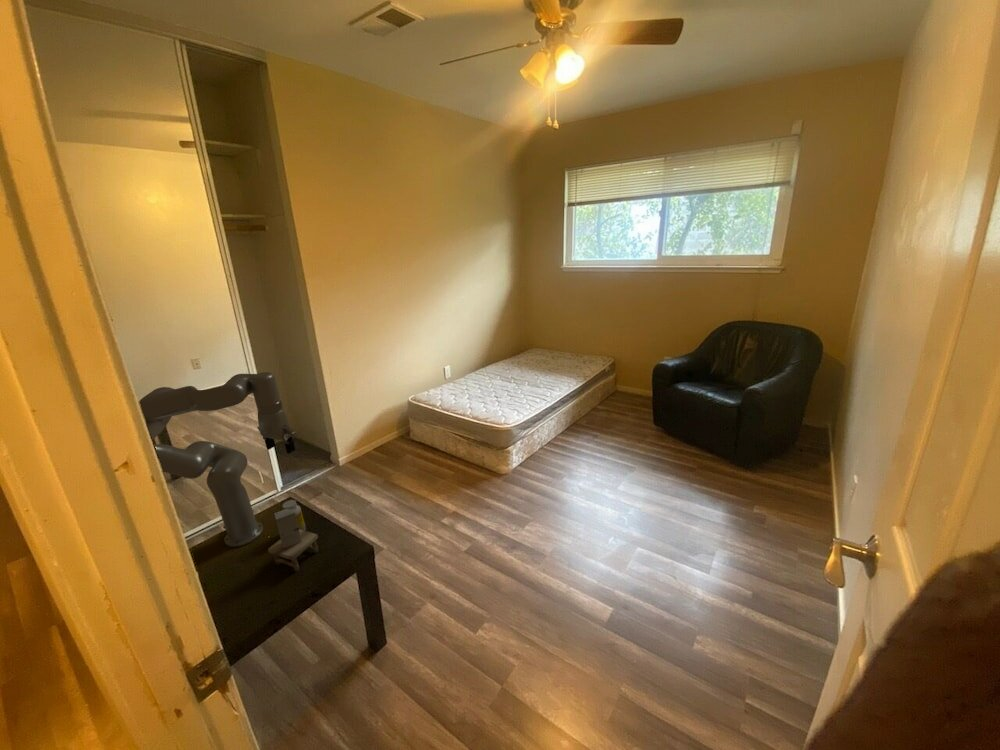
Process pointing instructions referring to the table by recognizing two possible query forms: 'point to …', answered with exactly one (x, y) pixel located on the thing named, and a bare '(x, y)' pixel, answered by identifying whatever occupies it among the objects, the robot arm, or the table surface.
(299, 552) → the stool
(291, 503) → the supplement bottle
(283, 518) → the skincare box
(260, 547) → the table surface
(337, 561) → the table surface
